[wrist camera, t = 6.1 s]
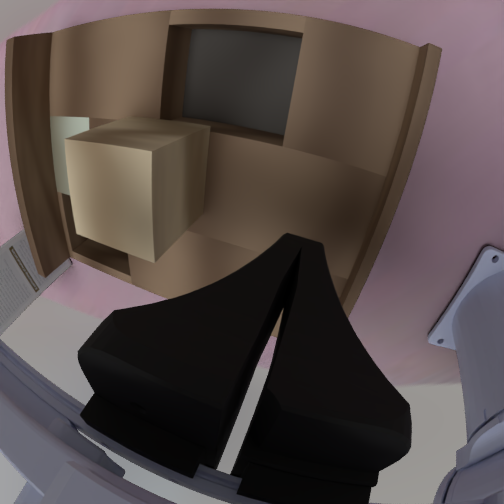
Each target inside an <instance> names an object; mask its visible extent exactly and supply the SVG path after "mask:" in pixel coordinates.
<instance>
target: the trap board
mask: <svg viewBox="0 0 504 504" xmlns="http://www.w3.org/2000/svg"><path fill="white" fill-rule="evenodd" d="M441 52H442V48H440V47H437V46H435V45H433V44H430V43H428V44H426V45H424V46H422V47H418V46H415V45H412V44H410V43H407V42H404V41H401V40H398V39H395V38H392V37H389V36H386V35H383V34H380V33H376V32H373V31H370V30H366V29H362V28H358V27H355V26H351V25H346V24H342V23H338V22H333V21H328V20H323V19H318V18H312V17H307V16H300V15H293V14H286V13H278V12H268V11H256V10H240V9H186V10H169V11H158V12H149V13H140V14H133V15H126V16H120V17H114V18H109V19H104V20H99V21H94V22H90V23H86V24H81V25H77V26H74V27H70V28H66V29H63V30H59V31H56V32H52V33H41V34H32V35H24V36H17V37H13V38H11V39H8V40H7V43H6V58H5V109H6V124H7V136H8V145H9V153H10V160H11V167H12V173H13V179H14V185H15V190H16V195H17V200H18V204H19V209H20V213H21V217H22V221H23V225H24V229H25V233H26V236H27V240H28V243H29V247H30V250H31V254H32V257H33V260H34V263H35V266H36V269H37V272H38V274H39V275H41V276H43V277H44V278H46V277H47V276H49V275H50V274H51V273H52V272H53V271H54V270H55V269H57V268H58V267H59V266H60V265H61V264H62V263H64V262H65V261H66V260H67V259H68V258H70V257H71V258H74V259H76V260H78V261H80V262H82V263H84V264H87V265H89V266H91V267H93V268H95V269H98V270H100V271H102V272H104V273H107V274H109V275H111V276H114V277H116V278H118V279H121V280H123V281H125V282H128V283H130V284H132V285H135V286H137V287H140V288H142V289H144V290H147V291H149V292H152V293H154V294H157V295H159V296H162V297H164V298H167V299H171V298H175V297H178V296H181V295H184V294H187V293H190V292H192V291H195V290H198V289H200V288H203V287H205V286H207V285H210V284H212V283H214V282H216V281H218V280H220V279H222V278H224V277H226V276H228V275H230V274H231V273H233V272H235V271H237V270H238V269H240V268H241V267H243V266H244V265H246V264H247V263H249V262H250V261H252V260H253V259H255V258H256V257H258V256H259V255H260V254H262V253H263V252H264V251H265V250H267V249H268V248H269V247H270V246H272V245H273V244H274V243H275V242H276V241H277V240H278V239H279V238H280V237H281V236H282V235H283V234H285V233H290V234H294V235H297V236H301V237H304V238H307V239H311V240H314V241H317V242H321V243H322V244H323V245H324V250H325V255H326V260H327V264H328V268H329V271H330V275H331V278H332V281H333V284H334V287H335V290H336V292H337V295H338V297H339V300H340V302H341V305H342V307H343V309H344V312H345V314H346V316H347V318H348V317H349V315H350V313H351V311H352V309H353V307H354V305H355V303H356V301H357V299H358V297H359V295H360V293H361V290H362V288H363V286H364V284H365V282H366V280H367V278H368V276H369V273H370V271H371V269H372V267H373V265H374V262H375V260H376V258H377V255H378V253H379V251H380V249H381V246H382V244H383V241H384V239H385V237H386V234H387V232H388V229H389V227H390V224H391V222H392V219H393V217H394V214H395V212H396V209H397V206H398V204H399V201H400V198H401V196H402V193H403V190H404V187H405V184H406V182H407V179H408V176H409V173H410V170H411V167H412V164H413V161H414V158H415V155H416V151H417V148H418V145H419V142H420V138H421V135H422V132H423V128H424V125H425V121H426V117H427V114H428V110H429V106H430V102H431V98H432V94H433V90H434V86H435V81H436V77H437V72H438V67H439V62H440V57H441ZM130 116H134V117H145V118H154V119H163V120H171V121H179V122H187V123H194V124H200V125H207V126H211V127H210V136H209V147H208V158H207V169H206V181H205V194H204V208H203V215H202V216H200V217H199V218H198V219H197V220H196V221H195V222H194V223H193V224H192V225H191V226H190V227H189V228H188V229H187V230H186V231H185V233H184V234H183V235H182V236H181V237H180V238H179V239H178V240H177V241H176V242H175V243H174V244H173V245H172V246H171V247H170V248H169V249H168V250H167V251H166V252H165V253H164V254H163V255H162V256H161V257H160V258H159V259H158V260H157V261H156V262H155V263H153V262H150V261H147V260H144V259H142V258H139V257H136V256H133V255H131V254H128V253H125V252H123V251H120V250H117V249H115V248H112V247H109V246H107V245H104V244H102V243H99V242H96V241H94V240H91V239H89V238H86V237H84V236H81V235H79V234H77V233H76V228H75V222H74V217H73V211H72V204H71V198H70V190H69V183H68V174H67V165H66V154H65V141H64V139H66V138H68V137H71V136H74V135H76V134H79V133H82V132H84V131H87V130H90V129H93V128H96V127H99V126H101V125H104V124H107V123H111V122H114V121H117V120H120V119H123V118H127V117H130ZM282 313H283V310H282V312H281V314H280V317H279V319H278V321H277V323H276V325H275V327H274V330H273V332H272V334H271V336H274V337H277V336H278V331H279V327H280V322H281V318H282Z"/></svg>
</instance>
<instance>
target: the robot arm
mask: <svg viewBox="0 0 504 504" xmlns="http://www.w3.org/2000/svg"><path fill="white" fill-rule="evenodd" d="M495 255H497V256H496V258H495V259H492V258H493V256H495ZM282 310H283V313H282V318H281V322H280V327H279V331H278V336H277V340H276V345H275V349H274V354H273V358H272V362H271V366H270V369H269V372H268V376H267V378H266V381H265V384H264V387H263V390H262V392H261V395H260V398H259V401H258V404H257V406H256V409H255V412H254V415H253V417H252V420H251V423H250V425H249V428H248V431H247V433H246V436H245V438H244V441H243V444H242V446H241V449H240V451H239V454H238V456H237V459H236V461H235V464H234V467H233V469H232V471H231V474H230V475H229V474H226V473H224V472H221V471H218V470H216V469H217V467H218V464H219V462H220V460H221V457H222V455H223V452H224V449H225V447H226V444H227V442H228V439H229V437H230V434H231V432H232V429H233V426H234V424H235V421H236V419H237V416H238V414H239V411H240V409H241V406H242V403H243V401H244V398H245V395H246V393H247V390H248V387H249V385H250V382H251V379H252V377H253V374H254V371H255V369H256V366H257V364H258V362H259V359H260V357H261V355H262V353H263V351H264V349H265V346H266V344H267V342H268V340H269V338H270V336H271V334H272V332H273V330H274V327H275V325H276V323H277V321H278V319H279V317H280V314H281V312H282ZM439 339H440V340H439ZM428 342H429V343H430V344H433V345H437V346H441V347H445V348H449V349H453V350H456V353H457V358H458V364H459V370H460V376H461V382H462V389H463V397H464V405H465V416H466V430H467V444H466V445H465V446H464V447H462V448H461V449H459V450H457V451H456V467H454V468H453V469H452V470H451V471H450V472H448V474H447V475H446V476H445V477H444V479H443V481H442V482H441V484H440V486H439V488H438V490H437V492H436V495H435V498H434V502H433V504H504V252H503V251H501V250H499V249H496V248H494V247H492V246H487V247H485V248H484V249H483V250H482V251H481V253H480V255H479V257H478V259H477V260H476V262H475V264H474V266H473V268H472V269H471V271H470V273H469V274H468V276H467V278H466V279H465V281H464V283H463V284H462V286H461V288H460V289H459V291H458V292H457V294H456V296H455V297H454V299H453V300H452V302H451V303H450V305H449V306H448V308H447V309H446V311H445V312H444V314H443V315H442V317H441V318H440V320H439V321H438V322H437V324H436V325H435V327H434V328H433V329H432V331H431V332H430V333H429V335H428ZM78 361H79V364H80V366H81V369H82V371H83V373H84V375H85V376H86V378H87V380H88V382H89V383H90V385H91V387H92V389H93V390H94V392H95V393H94V394H93V396H92V397H91V399H90V400H89V402H88V403H87V405H86V406H85V405H84V404H82V403H81V402H79V401H77V400H76V399H75V398H73V397H72V396H70V395H68V394H67V393H66V392H64V391H63V390H62V389H60V388H59V387H57V386H56V385H55V384H53V383H52V382H51V381H49V380H48V379H47V378H45V377H44V376H43V375H42V374H40V373H39V372H38V371H36V370H35V369H34V368H33V367H31V366H30V365H29V364H28V363H26V362H25V361H24V360H23V359H22V358H21V357H20V356H18V355H17V354H16V353H15V352H14V351H13V350H12V349H10V348H9V347H8V346H7V345H6V344H5V343H4V342H3V341H2V340H1V339H0V451H1V453H2V454H3V455H4V457H5V458H6V459H7V460H8V461H9V462H10V463H11V465H12V466H13V467H14V468H15V469H16V470H17V471H18V472H19V473H20V474H21V475H22V476H23V477H24V478H25V479H26V480H27V483H26V484H25V486H24V487H23V489H22V491H21V493H20V494H19V496H18V498H17V499H16V501H15V502H14V504H176V503H174V502H171V501H169V500H167V499H165V498H162V497H160V496H158V495H156V494H153V493H151V492H149V491H147V490H145V489H143V488H141V487H139V486H137V485H135V484H133V483H131V482H129V481H127V480H125V479H123V476H124V474H125V470H124V469H123V468H122V467H120V466H119V465H117V464H116V463H115V462H113V460H111V459H110V458H109V457H108V456H107V455H106V453H105V451H104V450H102V449H100V448H99V447H98V446H96V445H95V444H93V443H92V442H91V441H89V440H88V439H87V438H85V437H84V436H83V435H81V434H80V433H79V432H78V430H79V431H81V432H82V433H84V434H85V435H87V436H88V437H90V438H91V439H93V440H94V441H96V442H98V443H99V444H101V445H102V446H104V447H106V448H107V449H109V450H111V451H113V452H114V453H116V454H118V455H120V456H121V457H123V458H125V459H127V460H129V461H130V462H132V463H134V464H136V465H138V466H140V467H142V468H144V469H146V470H148V471H150V472H152V473H154V474H156V475H159V476H161V477H163V478H165V479H167V480H169V481H172V482H174V483H177V484H179V485H181V486H184V487H186V488H189V489H191V490H194V491H196V492H199V493H202V494H204V495H207V496H210V497H213V498H216V499H219V500H221V501H225V502H228V503H231V504H377V503H369V498H370V492H371V487H374V486H376V484H377V482H378V475H379V471H381V470H383V469H384V468H386V467H388V466H390V465H392V464H394V463H395V462H397V461H399V460H400V459H401V458H402V457H404V456H405V455H406V454H407V453H408V452H409V450H410V448H411V433H412V422H411V415H410V414H411V413H410V405H409V403H408V402H407V401H406V400H405V399H404V398H403V397H402V396H401V394H400V393H399V392H398V391H397V390H396V389H395V388H394V386H393V385H392V384H391V383H390V382H389V381H388V380H387V378H386V377H385V376H384V374H383V373H382V372H381V370H380V369H379V368H378V367H377V365H376V364H375V363H374V361H373V360H372V358H371V357H370V355H369V354H368V352H367V351H366V349H365V348H364V346H363V345H362V343H361V341H360V340H359V338H358V337H357V335H356V333H355V331H354V330H353V328H352V326H351V324H350V322H349V320H348V318H347V316H346V314H345V312H344V309H343V307H342V305H341V302H340V300H339V297H338V295H337V292H336V290H335V287H334V284H333V281H332V278H331V275H330V271H329V268H328V264H327V260H326V255H325V250H324V245H323V244H322V243H321V242H317V241H314V240H311V239H307V238H304V237H301V236H297V235H294V234H290V233H285V234H283V235H282V236H281V237H280V238H279V239H278V240H277V241H276V242H275V243H274V244H273V245H272V246H270V247H269V248H268V249H267V250H265V251H264V252H263V253H262V254H260V255H259V256H258V257H256V258H255V259H253V260H252V261H250V262H249V263H247V264H246V265H244V266H243V267H241V268H240V269H238V270H237V271H235V272H233V273H231V274H230V275H228V276H226V277H224V278H222V279H220V280H218V281H216V282H214V283H212V284H210V285H207V286H205V287H203V288H200V289H198V290H195V291H192V292H190V293H187V294H184V295H181V296H178V297H175V298H171V299H168V300H164V301H160V302H156V303H152V304H147V305H142V306H137V307H131V308H126V309H120V310H114V311H113V312H112V313H111V314H110V315H109V316H108V317H107V318H106V319H105V320H104V321H103V322H102V323H101V324H100V325H99V326H98V327H97V329H96V330H95V331H94V332H93V333H92V335H91V336H90V337H89V338H88V340H87V341H86V342H85V343H84V344H83V346H82V347H81V348H80V349H79V351H78ZM77 429H78V430H77ZM378 504H379V503H378Z"/></svg>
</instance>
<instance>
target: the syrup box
mask: <svg viewBox="0 0 504 504" xmlns="http://www.w3.org/2000/svg"><path fill="white" fill-rule="evenodd" d="M70 266H71V261H70V259H69V258H68V259H67V260H66V261H65V262H64V263H62V264H61V265H60V266H59V267H58V268H57V269H55V270H54V271H53V272H52V273H51V274H50V275H49V276H47V277H46V278H44V277H43V276H41V275H39V274H38V272H37V269H36V266H35V263H34V260H33V257H32V254H31V250H30V247H29V243H28V240H27V236H26V233H25V229H23V230H22V231H20V232H19V233H18V234H16V235H15V236H14V237H12V238H11V239H10V240H8V241H7V242H6V243H4V244H3V245H2V246H1V247H0V336H1V335H2V334H3V332H4V331H5V330H6V329H7V328H8V327H9V326H10V325H11V324H12V323H13V322H14V321H15V320H16V318H18V316H19V315H21V313H22V312H23V311H24V310H25V309H26V308H27V307H28V306H29V305H30V304H31V303H32V302H33V301H34V300H35V299H36V298H37V297H38V296H39V295H40V294H41V293H42V292H43V291H44V290H45V289H47V288H48V287H49V286H50V285H51V284H52V283H53V282H54V281H55V280H56V279H57V278H58V277H59V276H60V275H61V274H63V273H64V272H65V271H66V270H67V269H68V268H69V267H70Z"/></svg>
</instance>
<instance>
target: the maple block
mask: <svg viewBox="0 0 504 504" xmlns="http://www.w3.org/2000/svg"><path fill="white" fill-rule="evenodd" d="M210 127H211V126H207V125H200V124H194V123H187V122H179V121H171V120H163V119H154V118H145V117H134V116H130V117H127V118H123V119H120V120H117V121H114V122H111V123H107V124H104V125H101V126H99V127H96V128H93V129H90V130H87V131H84V132H82V133H79V134H76V135H74V136H71V137H68V138H66V139H64V141H65V154H66V165H67V174H68V183H69V190H70V198H71V204H72V211H73V217H74V222H75V228H76V233H77V234H79V235H81V236H84V237H86V238H89V239H91V240H94V241H96V242H99V243H102V244H104V245H107V246H109V247H112V248H115V249H117V250H120V251H123V252H125V253H128V254H131V255H133V256H136V257H139V258H142V259H144V260H147V261H150V262H153V263H155V262H156V261H157V260H158V259H159V258H160V257H161V256H162V255H163V254H164V253H165V252H166V251H167V250H168V249H169V248H170V247H171V246H172V245H173V244H174V243H175V242H176V241H177V240H178V239H179V238H180V237H181V236H182V235H183V234H184V233H185V231H186V230H187V229H188V228H189V227H190V226H191V225H192V224H193V223H194V222H195V221H196V220H197V219H198V218H199V217H200V216H202V215H203V208H204V194H205V181H206V169H207V158H208V147H209V136H210Z"/></svg>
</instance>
